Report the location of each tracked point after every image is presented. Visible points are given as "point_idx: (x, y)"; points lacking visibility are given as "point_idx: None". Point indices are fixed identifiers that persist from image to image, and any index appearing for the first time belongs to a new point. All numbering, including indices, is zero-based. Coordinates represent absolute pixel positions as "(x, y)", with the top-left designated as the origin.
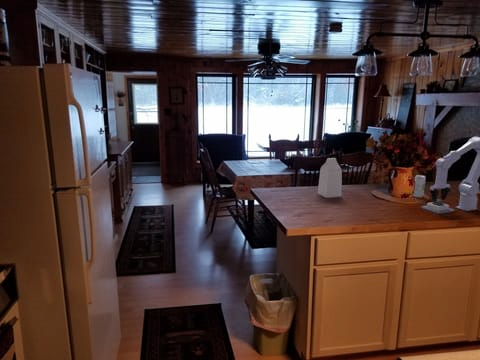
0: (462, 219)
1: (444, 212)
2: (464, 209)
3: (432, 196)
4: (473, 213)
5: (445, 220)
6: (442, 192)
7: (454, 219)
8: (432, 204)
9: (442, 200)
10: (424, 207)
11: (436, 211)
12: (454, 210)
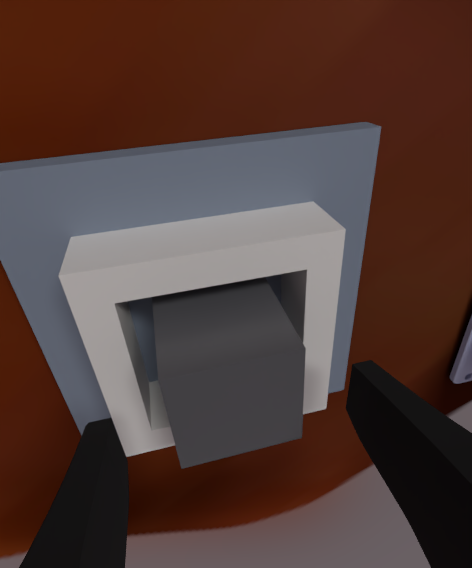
0: (195, 525)
1: None
2: (459, 363)
3: (61, 531)
4: None
5: (20, 553)
6: (464, 511)
7: (127, 530)
8: (109, 358)
9: (294, 427)
10: (5, 250)
11: (78, 422)
12: (337, 385)
